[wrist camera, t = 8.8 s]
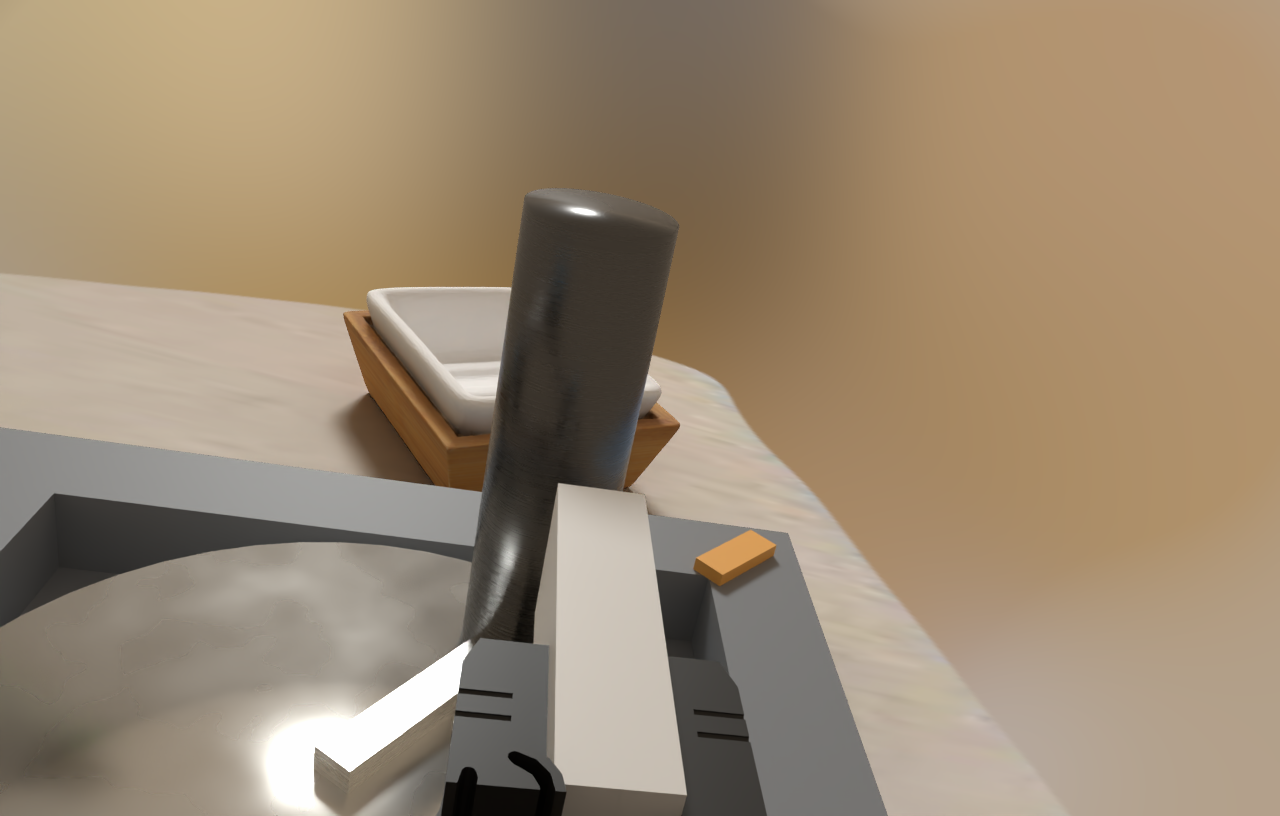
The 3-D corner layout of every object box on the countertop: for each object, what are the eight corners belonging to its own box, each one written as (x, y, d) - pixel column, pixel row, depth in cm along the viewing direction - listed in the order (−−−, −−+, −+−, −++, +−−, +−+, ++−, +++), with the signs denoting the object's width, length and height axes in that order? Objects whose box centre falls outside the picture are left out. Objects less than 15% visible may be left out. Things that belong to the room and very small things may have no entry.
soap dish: (664, 504, 41) (690, 393, 38) (435, 538, 35) (451, 411, 33) (533, 373, 50) (548, 278, 48) (336, 385, 44) (343, 278, 42)
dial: (233, 1859, 10) (290, 1071, 5) (-413, 890, 17) (-688, 136, 12) (843, 833, 24) (1036, 332, 18) (343, 531, 31) (376, 107, 26)
